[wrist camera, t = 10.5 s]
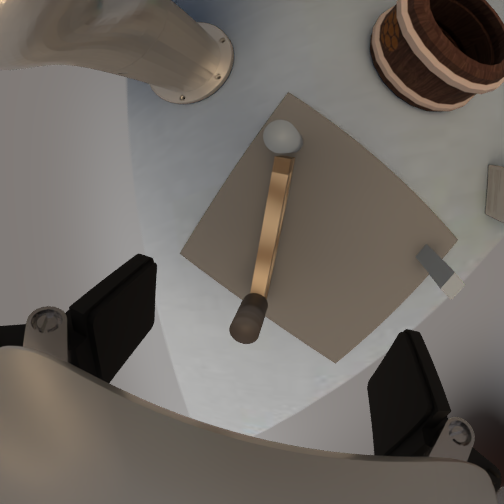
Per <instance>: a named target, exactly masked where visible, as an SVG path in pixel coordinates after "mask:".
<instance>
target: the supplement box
mask: <svg viewBox="0 0 504 504" xmlns="http://www.w3.org/2000/svg"><path fill="white" fill-rule="evenodd" d="M485 213H486V215H488V216H490V217H492V218H494V219H496V220H498V221H500V222H502V223H504V167H501V166H494V165H489V166H488V185H487V199H486V210H485Z"/></svg>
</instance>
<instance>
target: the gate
mask: <svg viewBox="0 0 504 504" xmlns="http://www.w3.org/2000/svg"><path fill="white" fill-rule="evenodd" d="M294 162H295V158H294V157H289V156H284V155H280V156H275V158H274V164H273V169H272V175H271V181H270V186H269V192H268V198H267V203H266V209H265V214H264V220H263V226H262V231H261V237H260V242H259V248H258V253H257V259H256V264H255V270H254V275H253V281H252V286H251V292H250V294H248V295H246V296H245V297H244V299H243V301H242V303H241V305H240V307H239V309H238V311H237V313H236V315H235V317H234V319H233V321H232V323H231V325H230V329H229V330H230V334H231V336H232V337H233V338H234V339H235V340H236V341H238V342H240V343H243V344H250V343H253V342H255V341H256V340H257V339H258V336H259V333H260V330H261V327H262V324H263V321H264V318H265V315H266V311H267V308H268V302H267V296H268V292H269V287H270V282H271V278H272V273H273V268H274V263H275V259H276V254H277V249H278V244H279V239H280V234H281V229H282V224H283V219H284V214H285V209H286V204H287V199H288V194H289V189H290V184H291V178H292V173H293V168H294Z"/></svg>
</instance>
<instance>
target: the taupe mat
mask: <svg viewBox="0 0 504 504" xmlns="http://www.w3.org/2000/svg"><path fill="white" fill-rule="evenodd" d="M275 120H285V121H288V122H290V123H291V124H292V125H293V126H294V127H295V128H296V129H297V131H298V132H299V133H300V135H301V136H302V138H303V146H302V148H301V149H300V150H299V151H297V152H294V153H275V152H273V151H271V150H269V149H268V148H267V146H266V145H265V143H264V140H263V133H264V130H265V128H266V126H267V125H268V124H269V123H271V122H273V121H275ZM280 155H284V156H289V157H294V158H295V162H294V168H293V173H292V178H291V184H290V189H289V194H288V199H287V204H286V209H285V214H284V219H283V224H282V229H281V234H280V239H279V244H278V249H277V254H276V259H275V263H274V268H273V273H272V278H271V282H270V287H269V292H268V296H267V302H268V308H267V311H266V315H265V316H266V317H267V318H269V319H270V320H272V321H273V322H275V323H276V324H277V325H279V326H280V327H282V328H283V329H285V330H286V331H288V332H289V333H291V334H292V335H294V336H295V337H296V338H298V339H299V340H301V341H302V342H304V343H305V344H307V345H308V346H310V347H311V348H313V349H314V350H316V351H317V352H319V353H320V354H322V355H323V356H325V357H327V358H328V359H330V360H331V361H333V362H334V363H336V362H338V361H339V360H340V359H341V358H343V357H344V356H345V355H346V354H347V353H349V352H350V351H351V350H352V349H353V348H354V347H356V346H357V345H358V344H359V343H360V342H361V341H362V340H363V339H365V338H366V337H367V336H368V335H369V334H370V333H371V332H372V331H373V330H375V329H376V328H377V327H378V326H379V325H380V324H381V323H382V322H383V321H384V320H385V319H386V318H387V317H388V316H389V315H390V314H391V313H392V312H393V311H394V310H395V309H397V308H398V307H399V306H400V305H401V303H402V302H403V301H404V300H405V299H406V298H407V297H408V296H409V295H410V294H411V293H412V292H413V291H414V290H415V289H416V288H417V287H418V286H419V285H420V284H421V283H422V281H423V280H424V279H425V278H426V277H427V276H428V275H429V273H428V272H427V270H426V269H425V268H424V267H423V266H422V264H421V263H420V262H419V261H418V259H417V258H416V255H417V254H418V253H419V252H420V251H421V250H422V248H423V247H424V246H425V245H426V244H427V245H428V246H429V247H430V248H431V249H432V250H433V251H434V252H435V253H436V254H437V255H438V256H439V257H440V258H441V259H443V258H444V256H445V255H446V254H447V253H448V252H449V250H450V249H451V248H452V247H453V245H454V244H455V243H456V242H457V240H458V239H457V238H456V237H455V236H454V235H453V233H452V232H451V231H450V230H449V229H448V228H447V227H446V226H445V224H444V223H443V222H442V221H441V220H440V219H439V218H438V217H437V216H436V215H435V213H434V212H433V211H432V210H431V209H430V208H429V207H428V206H427V205H426V204H425V203H424V202H423V201H422V200H421V199H420V198H419V197H418V196H417V195H416V194H415V193H414V192H413V191H412V190H411V189H410V188H409V187H408V186H407V185H406V184H405V183H404V182H403V181H402V180H401V179H399V178H398V177H397V176H396V175H395V174H394V173H393V172H392V171H391V170H390V169H389V168H387V167H386V166H385V165H384V164H383V163H382V162H381V161H379V160H378V159H377V158H376V157H375V156H374V155H373V154H371V153H370V152H369V151H368V150H367V149H365V148H364V147H363V146H362V145H360V144H359V143H358V142H357V141H356V140H354V139H353V138H352V137H350V136H349V135H348V134H347V133H345V132H344V131H343V130H341V129H340V128H339V127H338V126H336V125H335V124H333V123H332V122H331V121H329V120H328V119H327V118H325V117H324V116H323V115H321V114H320V113H318V112H317V111H315V110H314V109H313V108H311V107H310V106H308V105H307V104H305V103H304V102H302V101H301V100H299V99H298V98H296V97H295V96H293V95H292V94H290V93H289V92H288V93H287V95H286V96H285V97H284V99H283V100H282V101H281V103H280V104H279V105H278V107H277V108H276V110H275V111H274V112H273V114H272V115H271V116H270V118H269V119H268V120H267V122H266V123H265V125H264V126H263V127H262V129H261V130H260V132H259V133H258V134H257V136H256V137H255V139H254V140H253V142H252V143H251V144H250V146H249V147H248V149H247V150H246V152H245V153H244V155H243V156H242V157H241V159H240V160H239V162H238V163H237V165H236V166H235V168H234V169H233V171H232V172H231V174H230V175H229V177H228V178H227V180H226V181H225V183H224V184H223V186H222V187H221V189H220V190H219V192H218V193H217V195H216V196H215V198H214V200H213V201H212V203H211V204H210V206H209V207H208V209H207V211H206V212H205V214H204V215H203V217H202V218H201V220H200V222H199V223H198V225H197V226H196V228H195V230H194V231H193V233H192V235H191V236H190V238H189V239H188V241H187V243H186V244H185V246H184V248H183V249H182V251H181V253H180V254H181V255H182V256H184V257H185V258H186V259H188V260H189V261H190V262H192V263H193V264H194V265H196V266H197V267H198V268H200V269H201V270H202V271H204V272H205V273H206V274H208V275H209V276H210V277H212V278H213V279H214V280H216V281H217V282H218V283H220V284H221V285H223V286H224V287H225V288H227V289H228V290H229V291H231V292H232V293H234V294H235V295H236V296H238V297H239V298H240V299H242V300H243V299H244V297H245V296H246V295H248V294H250V292H251V286H252V281H253V275H254V270H255V264H256V259H257V253H258V248H259V242H260V237H261V231H262V226H263V220H264V214H265V209H266V203H267V198H268V192H269V186H270V181H271V175H272V169H273V164H274V158H275V156H280Z"/></svg>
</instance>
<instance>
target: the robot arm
mask: <svg viewBox="0 0 504 504" xmlns="http://www.w3.org/2000/svg"><path fill="white" fill-rule="evenodd" d="M223 41H225V42H224V43H223ZM233 60H234V52H233V47H232V44H231V41H230V40H229V38H228V37H227V35H226V34H225V33H224V32H223V31H222V30H221V29H219V28H218V27H216V26H214V25H212V24H209V23H203V22H196V21H195V20H193V19H192V18H191V17H190V16H189V15H188V14H187V13H186V12H184V11H183V10H182V9H181V8H180V7H179V6H177V5H176V4H175V3H174V2H173V1H171V0H0V70H17V69H26V68H32V67H39V66H46V65H71V66H80V67H86V68H91V69H95V70H100V71H104V72H108V73H112V74H116V75H120V76H124V77H127V78H131V79H135V80H138V81H142V82H145V83H148V84H150V86H151V88H152V90H153V91H154V92H155V93H156V94H157V95H158V96H159V97H160V98H162V99H164V100H166V101H168V102H172V103H177V104H190V103H194V102H198V101H200V100H203V99H205V98H207V97H209V96H210V95H211V94H213V93H214V92H216V91H217V90H218V89H219V88H220V87H221V86H222V85H223V83H224V82H225V81H226V79H227V78H228V76H229V74H230V72H231V69H232V66H233ZM219 77H221V79H220V80H219ZM184 97H185V99H184ZM156 274H157V264H156V263H154V261H153V258H151V257H148V256H145V255H142V254H137V255H135V256H134V257H133V258H131V259H130V260H129V261H127V262H126V263H125V264H123V265H122V266H121V267H119V268H118V269H117V270H115V271H114V272H113V273H112V274H110V275H109V276H107V277H106V278H105V279H104V280H102V281H101V282H100V283H99V284H97V285H96V286H95V287H93V288H92V289H91V290H90V291H88V292H87V293H86V294H85V295H83V296H82V297H81V298H80V299H79V300H77V301H76V302H75V303H73V304H72V305H71V306H70V307H69V310H68V311H67V312H66V313H64V311H62V310H61V309H59V308H56V307H50V306H49V307H48V306H47V307H41V308H39V309H36V310H35V311H33V312H32V313H31V314H30V315H29V317H28V319H27V323H26V324H23V325H9V326H0V504H504V488H503V487H502V488H500V485H501V473H500V471H499V469H497V467H496V466H495V465H493V464H492V463H491V462H490V461H489V460H487V459H486V458H485V457H484V456H482V455H481V454H480V453H479V452H478V451H476V450H475V449H474V448H473V447H472V446H473V443H474V439H475V438H474V432H473V430H472V428H471V426H470V425H469V424H468V423H467V422H466V421H465V420H463V419H461V418H458V417H453V418H451V419H448V418H447V415H448V414H449V413H450V412H451V409H450V406H449V404H448V401H447V398H446V395H445V392H444V389H443V387H442V384H441V381H440V379H439V376H438V374H437V371H436V369H435V366H434V364H433V361H432V359H431V357H430V354H429V352H428V350H427V347H426V345H425V343H424V340H423V338H422V336H421V334H420V332H417V331H413V330H408V329H406V330H404V331H403V332H400V333H399V334H398V336H397V338H396V339H395V341H394V343H393V344H392V346H391V348H390V349H389V351H388V352H387V354H386V356H385V357H384V359H383V360H382V362H381V364H380V365H379V367H378V368H377V370H376V371H375V373H374V374H373V376H372V377H371V378H370V380H369V382H368V386H367V390H368V397H369V405H370V413H371V422H372V431H373V443H374V455H360V454H349V453H339V452H331V451H324V450H317V449H310V448H304V447H298V446H293V445H287V444H282V443H278V442H272V441H268V440H264V439H260V438H255V437H252V436H248V435H244V434H240V433H237V432H233V431H229V430H226V429H223V428H219V427H216V426H213V425H210V424H207V423H204V422H201V421H198V420H195V419H192V418H189V417H186V416H183V415H180V414H178V413H175V412H173V411H170V410H168V409H165V408H162V407H160V406H157V405H155V404H153V403H150V402H148V401H146V400H143V399H141V398H139V397H137V396H135V395H132V394H130V393H128V392H126V391H123V390H121V389H119V388H117V387H115V386H113V385H111V384H109V383H110V381H111V380H112V379H113V378H114V376H115V374H116V373H117V372H118V371H119V370H120V368H121V367H122V366H123V364H124V363H125V362H126V360H127V359H128V358H129V356H130V355H131V354H132V353H133V351H134V350H135V349H136V348H137V346H138V345H139V344H140V342H141V341H142V340H143V339H144V337H145V336H146V335H147V333H148V332H149V331H150V330H151V328H152V326H153V324H154V317H155V291H156ZM499 488H500V489H499Z"/></svg>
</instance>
